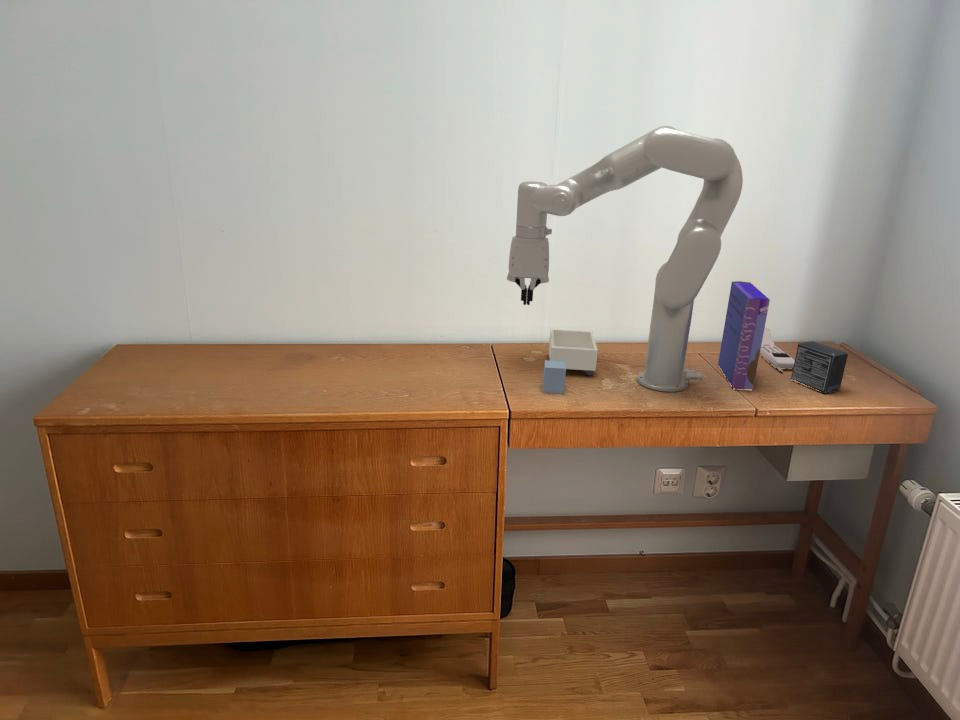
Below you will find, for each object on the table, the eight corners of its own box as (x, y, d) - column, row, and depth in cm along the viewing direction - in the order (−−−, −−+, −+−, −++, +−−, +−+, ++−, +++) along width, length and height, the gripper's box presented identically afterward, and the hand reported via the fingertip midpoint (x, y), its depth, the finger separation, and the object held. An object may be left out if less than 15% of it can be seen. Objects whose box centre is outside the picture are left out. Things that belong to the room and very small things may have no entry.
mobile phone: (768, 326, 209) (803, 354, 186) (765, 345, 211) (799, 374, 188) (748, 325, 209) (781, 353, 186) (745, 344, 211) (777, 374, 188)
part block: (563, 388, 172) (565, 361, 170) (563, 395, 167) (566, 368, 165) (542, 386, 172) (544, 360, 170) (543, 394, 168) (545, 367, 165)
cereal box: (752, 391, 175) (770, 298, 166) (733, 390, 175) (749, 297, 167) (735, 367, 191) (750, 281, 183) (717, 365, 191) (731, 280, 183)
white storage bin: (590, 357, 192) (592, 331, 190) (594, 377, 178) (597, 350, 175) (548, 354, 193) (550, 329, 190) (549, 374, 178) (551, 347, 176)
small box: (841, 391, 177) (850, 352, 174) (825, 395, 174) (834, 356, 170) (805, 377, 186) (813, 339, 182) (789, 380, 183) (797, 343, 179)
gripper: (559, 231, 177) (554, 301, 183) (501, 229, 177) (497, 298, 184) (561, 236, 170) (556, 309, 176) (500, 234, 170) (497, 306, 177)
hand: (526, 303), depth 180 cm, fingers closed
